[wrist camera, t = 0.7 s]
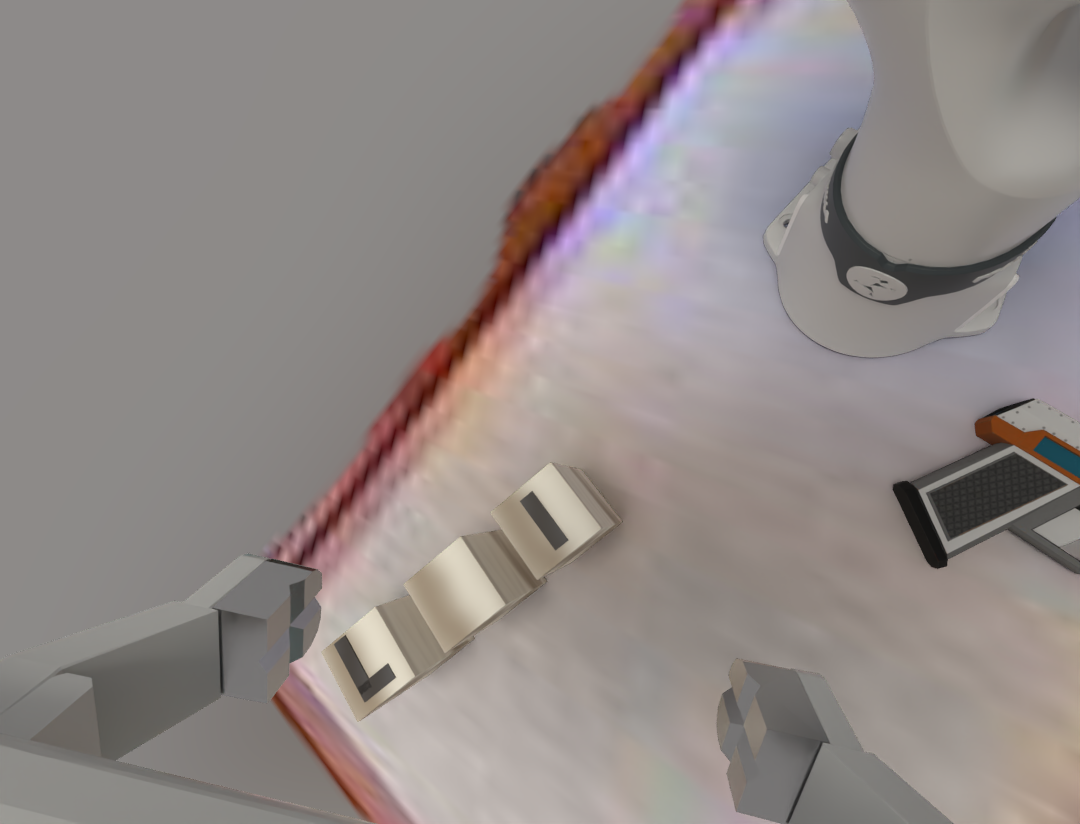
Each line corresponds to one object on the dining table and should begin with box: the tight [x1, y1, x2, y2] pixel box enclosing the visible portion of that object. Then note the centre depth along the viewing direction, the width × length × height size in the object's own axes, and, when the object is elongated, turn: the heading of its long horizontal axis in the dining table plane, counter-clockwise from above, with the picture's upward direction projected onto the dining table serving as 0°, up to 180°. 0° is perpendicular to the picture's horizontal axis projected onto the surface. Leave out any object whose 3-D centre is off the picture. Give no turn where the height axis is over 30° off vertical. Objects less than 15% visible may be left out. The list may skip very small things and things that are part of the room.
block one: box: [490, 462, 623, 580], centre depth 43 cm, size 6×6×11 cm
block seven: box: [322, 595, 475, 722], centre depth 45 cm, size 6×6×11 cm
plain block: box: [403, 530, 547, 653], centre depth 44 cm, size 6×6×11 cm
